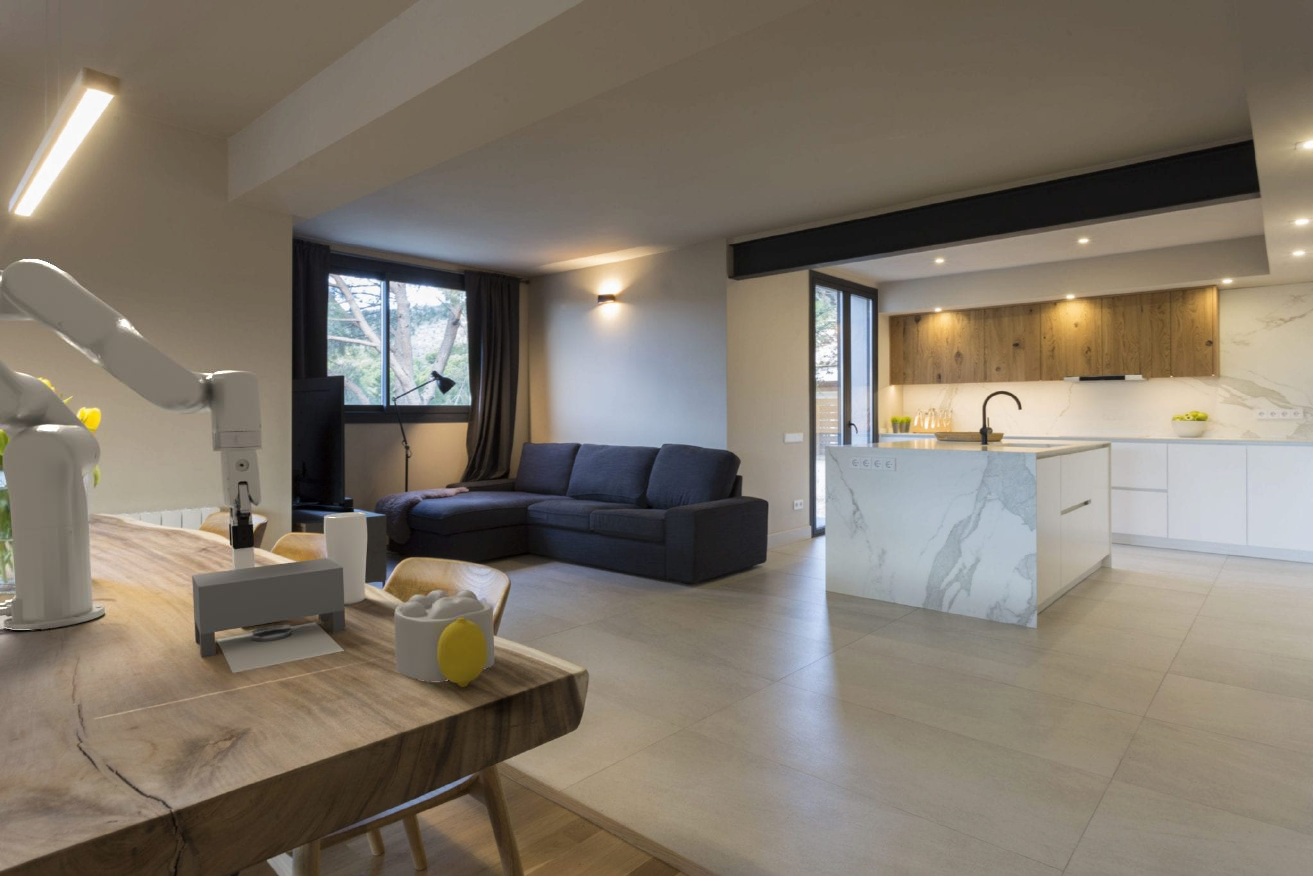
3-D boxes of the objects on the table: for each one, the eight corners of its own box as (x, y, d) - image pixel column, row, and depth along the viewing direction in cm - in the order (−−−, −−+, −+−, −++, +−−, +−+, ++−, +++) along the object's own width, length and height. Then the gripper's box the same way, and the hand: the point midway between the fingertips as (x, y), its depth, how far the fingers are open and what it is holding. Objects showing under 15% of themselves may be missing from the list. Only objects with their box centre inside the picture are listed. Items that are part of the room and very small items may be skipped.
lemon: (492, 677, 87) (490, 610, 86) (482, 695, 81) (480, 623, 81) (445, 679, 86) (442, 612, 86) (432, 697, 81) (429, 625, 81)
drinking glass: (326, 600, 127) (323, 514, 127) (368, 595, 130) (365, 511, 130) (327, 608, 121) (323, 518, 121) (371, 603, 124) (367, 515, 124)
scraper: (241, 626, 110) (237, 532, 110) (223, 598, 128) (220, 518, 128) (285, 618, 114) (281, 527, 113) (262, 592, 132) (258, 514, 132)
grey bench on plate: (201, 658, 97) (198, 587, 96) (195, 641, 105) (192, 575, 105) (345, 631, 107) (342, 567, 107) (329, 617, 115) (327, 557, 115)
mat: (232, 674, 90) (232, 672, 90) (217, 640, 105) (216, 639, 105) (344, 652, 98) (344, 650, 98) (315, 623, 112) (315, 622, 112)
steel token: (254, 644, 102) (254, 637, 102) (250, 636, 106) (250, 629, 106) (294, 637, 105) (294, 630, 105) (288, 629, 109) (288, 622, 109)
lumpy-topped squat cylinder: (431, 687, 84) (428, 612, 84) (377, 663, 93) (374, 596, 93) (505, 663, 92) (503, 594, 92) (449, 643, 101) (447, 581, 100)
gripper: (269, 441, 123) (273, 550, 124) (254, 440, 137) (258, 538, 137) (217, 443, 119) (222, 556, 120) (207, 442, 132) (212, 543, 133)
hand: (241, 545), depth 128 cm, fingers closed on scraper, 3 cm apart
